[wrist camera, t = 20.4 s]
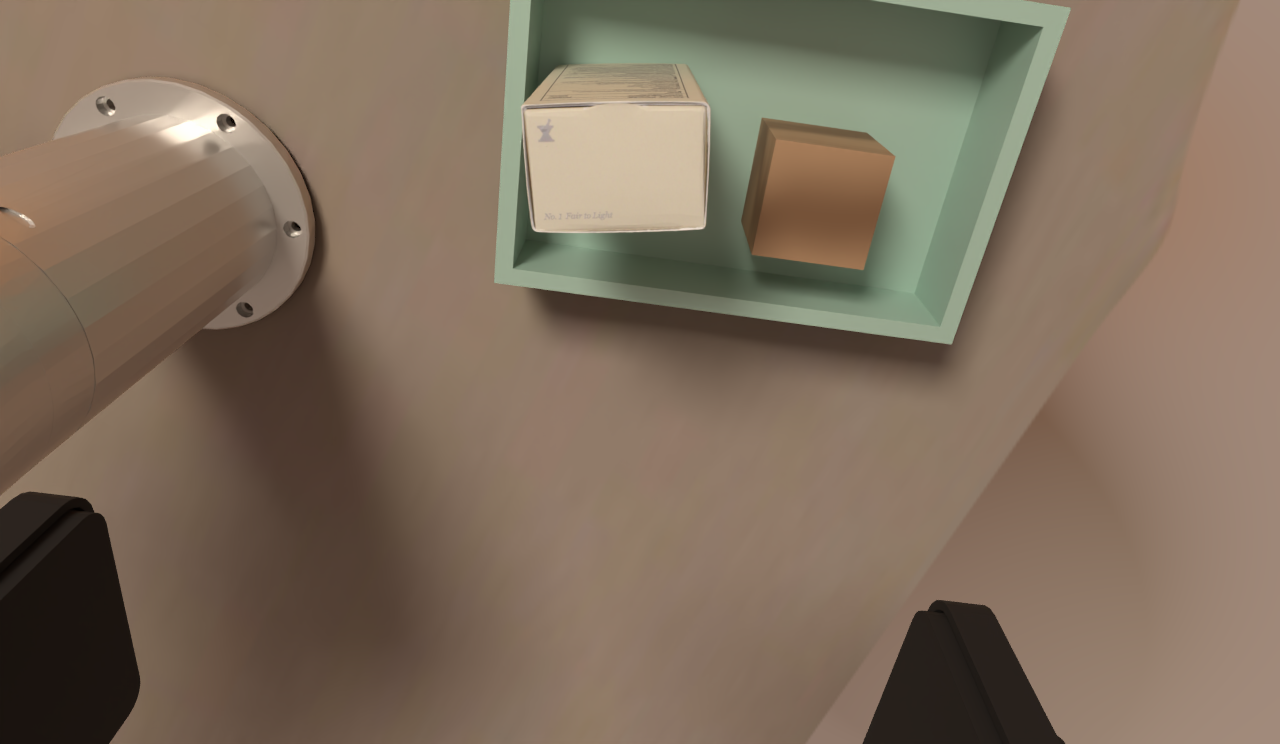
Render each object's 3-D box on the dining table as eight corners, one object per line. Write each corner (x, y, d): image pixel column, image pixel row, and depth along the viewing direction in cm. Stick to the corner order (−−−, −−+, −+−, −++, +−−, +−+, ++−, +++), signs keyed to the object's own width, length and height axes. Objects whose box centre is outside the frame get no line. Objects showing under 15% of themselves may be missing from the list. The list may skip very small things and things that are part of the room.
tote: (511, 247, 41) (494, 282, 36) (533, -75, 34) (514, -80, 30) (920, 303, 42) (951, 344, 38) (1018, 1, 35) (1071, 7, 31)
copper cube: (761, 117, 37) (776, 139, 33) (867, 132, 37) (895, 156, 33) (741, 221, 39) (751, 254, 35) (840, 235, 40) (863, 270, 35)
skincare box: (561, 158, 38) (523, 238, 27) (555, 59, 36) (512, 102, 25) (693, 157, 38) (707, 237, 27) (694, 57, 36) (711, 100, 25)
